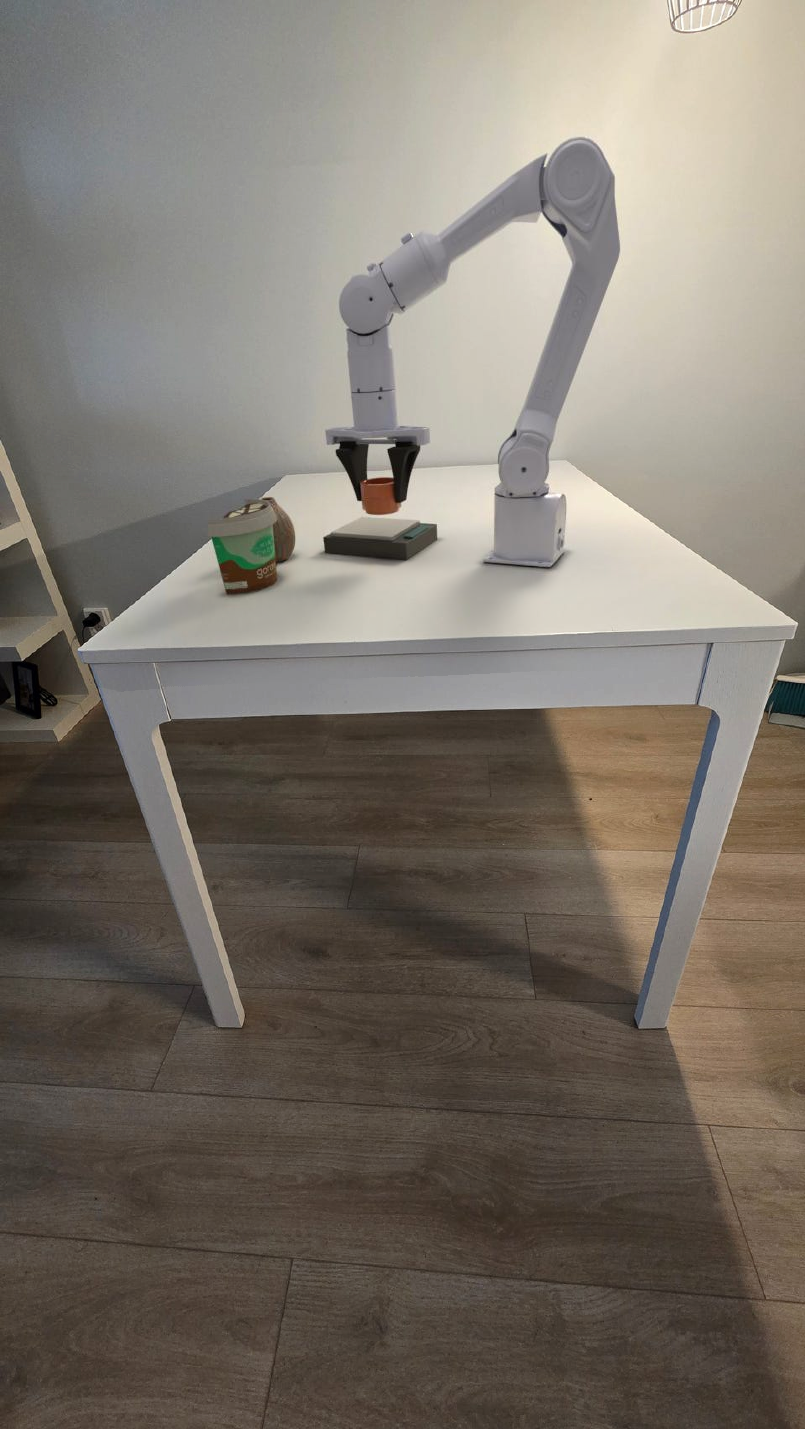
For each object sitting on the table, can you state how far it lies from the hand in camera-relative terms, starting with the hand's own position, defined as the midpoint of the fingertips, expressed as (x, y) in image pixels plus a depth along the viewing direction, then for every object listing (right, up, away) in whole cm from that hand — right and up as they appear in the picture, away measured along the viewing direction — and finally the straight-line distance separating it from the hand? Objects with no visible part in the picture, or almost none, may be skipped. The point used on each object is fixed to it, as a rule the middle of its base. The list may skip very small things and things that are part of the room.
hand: (381, 500), depth 89 cm
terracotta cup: (0, -1, +1) cm, 1 cm away
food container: (-16, -12, -1) cm, 20 cm away
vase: (-16, -6, +9) cm, 19 cm away
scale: (0, -4, +11) cm, 11 cm away
